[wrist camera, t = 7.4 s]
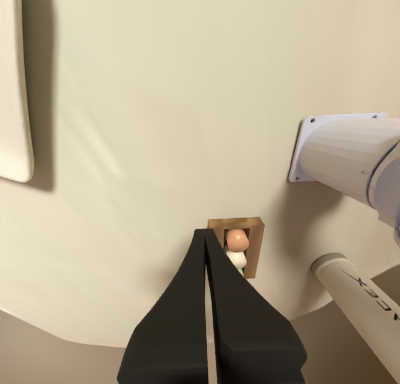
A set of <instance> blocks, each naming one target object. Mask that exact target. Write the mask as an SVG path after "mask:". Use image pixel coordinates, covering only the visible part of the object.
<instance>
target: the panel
mask: <svg viewBox="0 0 400 384" xmlns="http://www.w3.org/2000/svg"><path fill="white" fill-rule="evenodd" d="M264 227H265V225H264V223H263V222H262V220H261V219H260V217H252V218H231V219H210V220H209V229H210V228H212V229H214V232H215V234H216V236H217V238H218V240H219V242H220V244H221V246H222V247H223V246H224V229H243V228H245V234H246V237H247V239H248V241H249V246H248V248H247V249H246V250H245V251H243V253H244V256H245V258H246V262H247V263H246V265H245V266H244V267H243V268H242V271H243V275H244V278H245V279H249V278H255V274H256V269H257V264H258V259H259V253H260V248H261V243H262V237H263V232H264Z"/></svg>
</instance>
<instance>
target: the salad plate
mask: <svg viewBox="0 0 400 384" xmlns="http://www.w3.org/2000/svg"><path fill="white" fill-rule="evenodd" d="M33 173H34V155H33V148H32V140H31V132H30V124H29V115H28V104H27V92H26V80H25V68H24V52H23V30H22V0H0V177H3V178H6V179H10V180H13V181H17V182H22V183H26V182H29V181H30V180H31V179H32V176H33Z"/></svg>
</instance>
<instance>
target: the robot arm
mask: <svg viewBox="0 0 400 384" xmlns="http://www.w3.org/2000/svg"><path fill="white" fill-rule="evenodd" d="M387 116H388V114H387V113H385V112H384V113H363V114H341V115H320V116H306V117H304V118H303V120H302V124H301V128H300V132H299V136H298V140H297V145H296V149H295V153H294V157H293V162H292V166H291V170H290V174H289V181H291V182H305V181H319V182H321V183H323V184H325V185H327V186H329V187H331V188H333V189H335V190H337V191H339V192H341V193H343V194H345V195H347V196H349V197H351V198H353V199H355V200H357V201H359V202H361V203H363V204H365V205H367V206H369V207H371V208H373V209H375V210H377V211H378V213H379V217H378V219H379V220H380V221H382V222H384V223H386V224H388V225H390V226H391V227H393V228H395V229H394V234H393V236H394V239H395V242H396V243H397V245H398V246H399V247H400V118H387ZM372 117H373V118H372ZM311 119H313V121H312V122H310V121H311ZM296 177H298V178H297V179H296ZM206 268H207V274H208V281H209V287H210V294H211V302H212V315H213V329H214V342H215V356H216V370H217V383H218V384H305V380H304V378H303V375H302V373H301V371H300V369H301V367H302V366H303V364H304V363H305V362H306V359H307V353H306V350H305V348H304V346H303V344H302V342H301V340H300V338H299V337H298V335H297V333H296V331H295V330H294V328H293V326H292V325H291V323H290V322H289V321H288V320H287V319H286V318H285V317H284V316H283V315H282V314H280V313H279V312H278V311H277V310H276V309H275V308H274V307H273V306H272V305H270V304H269V303H268V302H267V301H266V300H265V299H264V298H263V297H262V296H261V295H260V294H259V293H258V292H257V291H256V290H255V289H254V287H253V286H252V285H251V284H250V283H249V282H248V281H247V280H246V279H245V278H244V276H243V275H242V274H241V273H240V272H239V270H238V269H237V268H236V267H235V265H234V264H233V263H232V261H231V260H230V258H229V257H228V255H227V254H226V252H225V251H224V249H223V247H222V246H221V244H220V242H219V240H218V238H217V236H216V234H215V232H214V229H212V228H210V229H196V230H195V231H194V236H193V239H192V242H191V245H190V247H189V250H188V252H187V254H186V256H185V258H184V260H183V262H182V264H181V266H180V268H179V270H178V272H177V273H176V275H175V277H174V278H173V280H172V281H171V283H170V284H169V286H168V287H167V289H166V290H165V292H164V293H163V294H162V296H161V297H160V298H159V300H158V301H157V302H156V304H155V305H154V306H153V307H152V309H151V310H150V311H149V312H148V313H147V315H146V316H145V317H144V318H143V319H142V321H141V322H140V323H139V324H138V325H137V326H136V328H135V329H134V331H133V334H132V336H131V338H130V340H129V343H128V345H127V348H126V350H125V353H124V356H123V360H122V362H121V367H120V369H119V372H118V376H117V381H118V383H119V384H209V383H208V361H207V339H206V318H205V269H206Z"/></svg>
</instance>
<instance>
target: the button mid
mask: <svg viewBox="0 0 400 384" xmlns="http://www.w3.org/2000/svg"><path fill="white" fill-rule="evenodd" d="M224 251H225V252H226V254H227V255H228V257H229V258H230V260H231V261H232V263H233V264H234V265H235V267H236V268H237V269H241V268H243V267H244V266H245V265H246V263H247V262H246V258H245V256H244V253H243V252H239V253H236V252H232V251H231V250H229V248H228V244H226V245H225V246H224Z"/></svg>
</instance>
